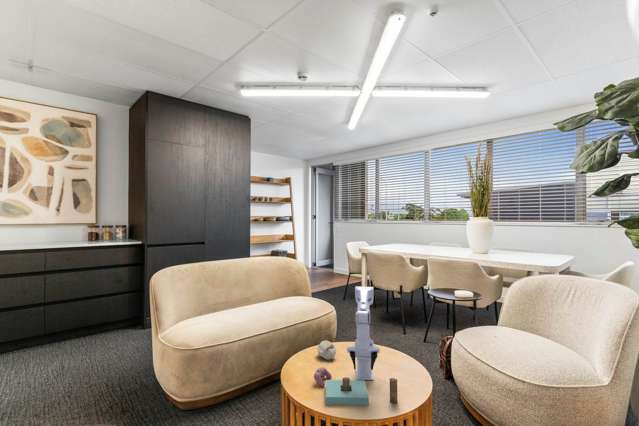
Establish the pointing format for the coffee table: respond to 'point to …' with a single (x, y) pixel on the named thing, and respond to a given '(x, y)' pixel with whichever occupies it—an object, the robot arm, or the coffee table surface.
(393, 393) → the tall pin
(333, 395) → the block
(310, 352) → the coffee table surface
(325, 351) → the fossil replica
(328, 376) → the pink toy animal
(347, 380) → the short pin
